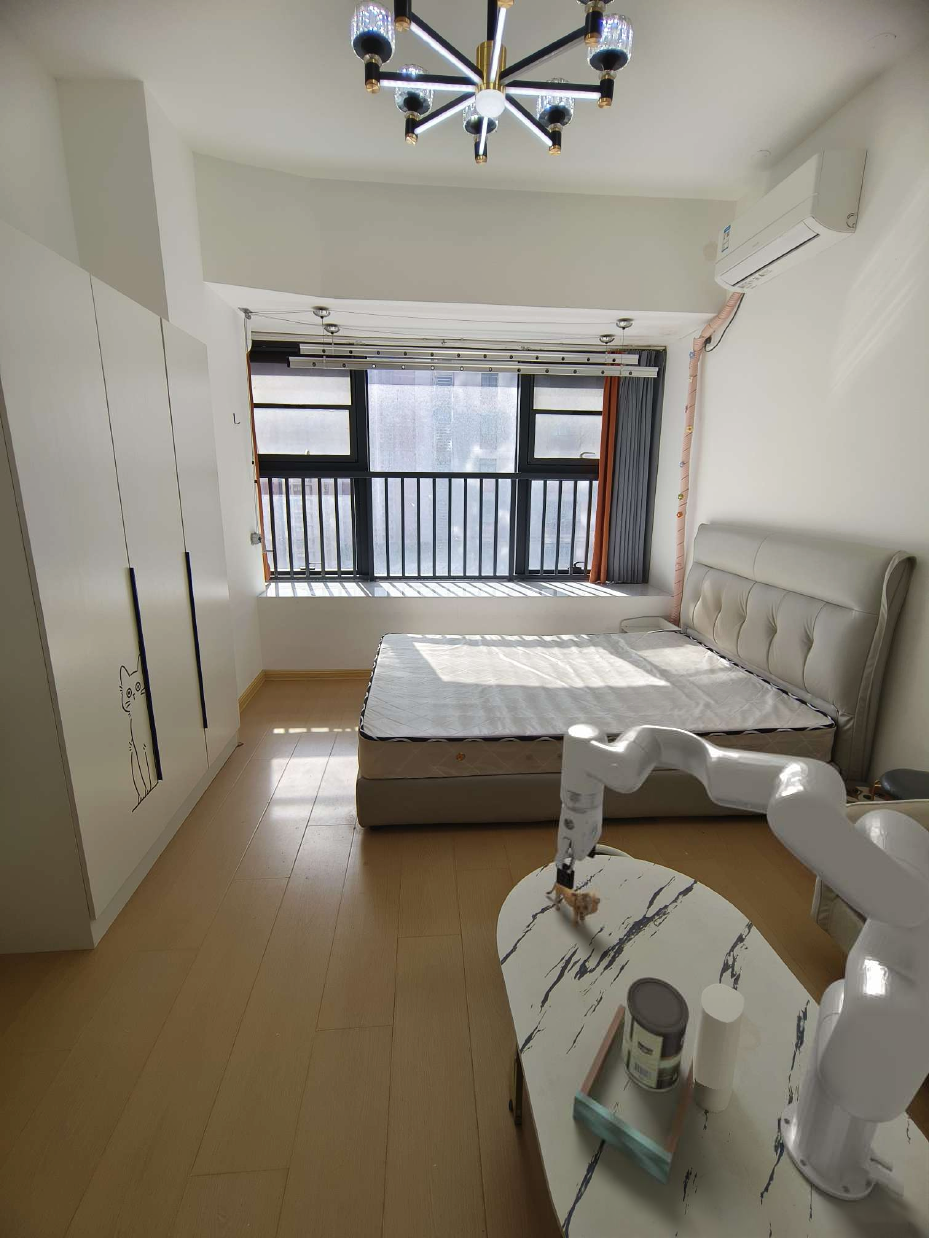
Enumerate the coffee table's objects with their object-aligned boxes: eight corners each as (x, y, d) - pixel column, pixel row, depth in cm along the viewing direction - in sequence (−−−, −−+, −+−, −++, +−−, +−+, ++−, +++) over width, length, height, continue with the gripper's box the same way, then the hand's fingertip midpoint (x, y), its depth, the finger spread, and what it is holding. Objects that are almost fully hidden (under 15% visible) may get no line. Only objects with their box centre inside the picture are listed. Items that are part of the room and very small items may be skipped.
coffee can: (674, 1038, 104) (683, 982, 100) (684, 1098, 94) (694, 1038, 90) (618, 1027, 106) (624, 971, 102) (622, 1085, 96) (629, 1026, 92)
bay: (700, 1063, 99) (704, 1043, 98) (666, 1184, 83) (669, 1162, 82) (618, 1015, 108) (620, 995, 107) (572, 1116, 92) (574, 1095, 90)
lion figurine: (601, 923, 129) (604, 892, 127) (589, 936, 126) (591, 905, 123) (551, 889, 139) (553, 860, 137) (538, 900, 136) (540, 870, 133)
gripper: (581, 825, 89) (574, 908, 94) (619, 776, 103) (612, 851, 108) (540, 808, 94) (536, 889, 99) (582, 763, 107) (576, 836, 112)
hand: (576, 869), depth 103 cm, fingers open, 9 cm apart
